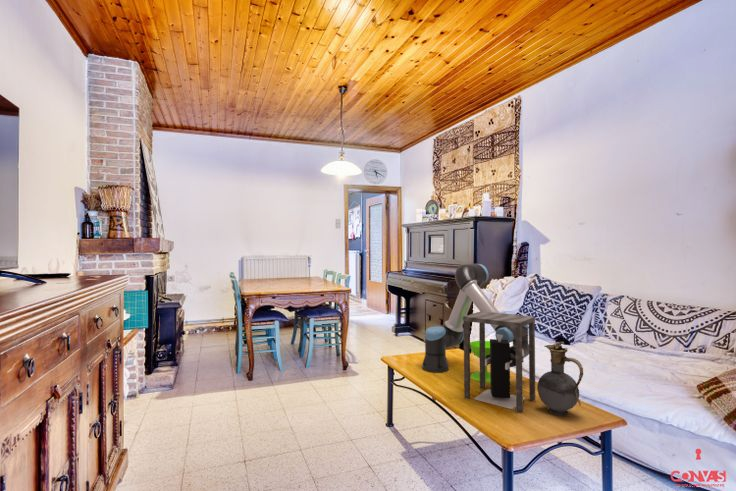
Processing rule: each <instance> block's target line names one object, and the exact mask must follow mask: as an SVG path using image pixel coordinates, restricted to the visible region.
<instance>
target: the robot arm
mask: <svg viewBox="0 0 736 491" xmlns="http://www.w3.org/2000/svg"><path fill="white" fill-rule="evenodd" d="M454 272H455V273H454V280H455V282H456V285H457V286H458V287H459V292H458V295H457V297H456V300H455V303H454V305H453V307H452V310H451V312H450V315H449V318H448V320H445V322H444V323H443V326H439V325H438V326H437V325H436V326H431V327H430V326H429V327H427V328H426V330H425V331H424V332H425V333H424V334H425V335H424V347H425V348H424V349H425V350H424V352H425V354H424V357H423V360H422V361H423V362H422V365H421V366H422V369H423V370H424V369H425V370H424V371H426V370H427V372H429V371H431V372H430V373H445V372H447V370H448V371H449V369H450V364H449V361H448V359H447V356H446V351H447V350H446V349H447V348H448V349H449V348H452V347H456V346H458V345H460V344H462V343H463V342H464V321H463V316H467V315H468V313H469V310H470V308H471V305H472V303H473V304H474V306H475V307H476V308H477V309H478V310H479V311H478V312H480V311H485V312H494V313H501V312H500V311H499V310H498V309H497V307H496V306H495V305H494V304H493V303H492V301H491V299H489V297H488V296H487V295H486V293H485V292H484V291H483V290H482V286H483V285H484V284H485V283H487V281H488V280H489V278H490V277H489V271H488V269H487V267H486V266H485V265H484V264H480V263H470V264H469V263H468V264H467V263H466V264H461V265H459V266H458V267H457V268H456V269H455V271H454ZM489 326H491V328H492V329H493V330H494V331H495V339H497V336H496V334H499V335H503V337H502V339H501V340H508V342H509V343H512V346H511V345H510V362H507V363H505V370H508V369H509V368H510V369H511V368H514V367H515V368H516V327H509V326H501V325H493V324H489ZM526 357H529V324H527V325H525V326H523V327H522V363H524V360H525V359H524V358H526ZM490 364H491V358H490V354H489V355H486V359H485V366H487V367H488V366H490ZM444 371H445V372H444Z"/></svg>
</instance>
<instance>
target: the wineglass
mask: <svg viewBox="0 0 736 491" xmlns="http://www.w3.org/2000/svg"><path fill="white" fill-rule="evenodd" d="M470 350H471V352H472V353H473V355H474V356H476V357H477V358H478V359H480V341H479V340H474V341H470ZM489 354H490V340H485V359H486V355H489ZM470 377H471V378H472V379H471V378H470V379H471V380H473V381H475V382H479V383H480V371H474V372H472V373H470ZM486 383H488V384H491V383H490V371H488V365H487V366H485V384H486Z"/></svg>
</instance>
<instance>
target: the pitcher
mask: <svg viewBox="0 0 736 491" xmlns="http://www.w3.org/2000/svg"><path fill="white" fill-rule="evenodd" d="M564 344H565V342H564V341H559V342H554V344H547V345H544V348H547V349H548V350H549V353H550V363H551V364H550V366H551V367H550V368H551V370H550V371H547V372H545V373H543V374H542V375H541V376H540V378H539V379H538V381H537V385H536V386H537V394H538V396H539V399H540V401H541V402H542V403H543V404H544V405H545V406H547V411H548V412H549V413H551V414H552V415H555V416H559V417H565V416H568V415H569V410H572V409H573V408H574V407H575V406H576V405H577V404H579V406H581V404H582V403H581V402H580V401H581V399H580V390H579V385H580V383H581V382H582V378H583V376H584V367H583V365H582V363H581V362H580V361H579V360H578V359H576V358H574V357H567V356H566V353H567V352H568V351H569V349H568V348H567V347H563V346H562V345H564ZM567 362H571V363H574V364H575V365H577V367H578V369H579V375H578V379H577V382H576V379H574V378H573V377H572V376H571V375H569V374H567V373H566V372H565V364H566V363H567Z"/></svg>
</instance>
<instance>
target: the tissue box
mask: <svg viewBox="0 0 736 491" xmlns="http://www.w3.org/2000/svg"><path fill="white" fill-rule="evenodd" d="M495 334H496V333H495ZM496 336H497V339H496V338H494V339H492V338H491V339H489V341H490V358H491V364H489V367H490V370H489V372H490V383H489V384H490V389H491V394H492V397H498V398H510V394H511V368H509V369H508V370H505V363H507V362H510V347H511V345H510V343H511V342H510V343H509V342H508V340H501V339H502V337H503V335H499V334H496ZM496 336H495V337H496Z"/></svg>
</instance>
